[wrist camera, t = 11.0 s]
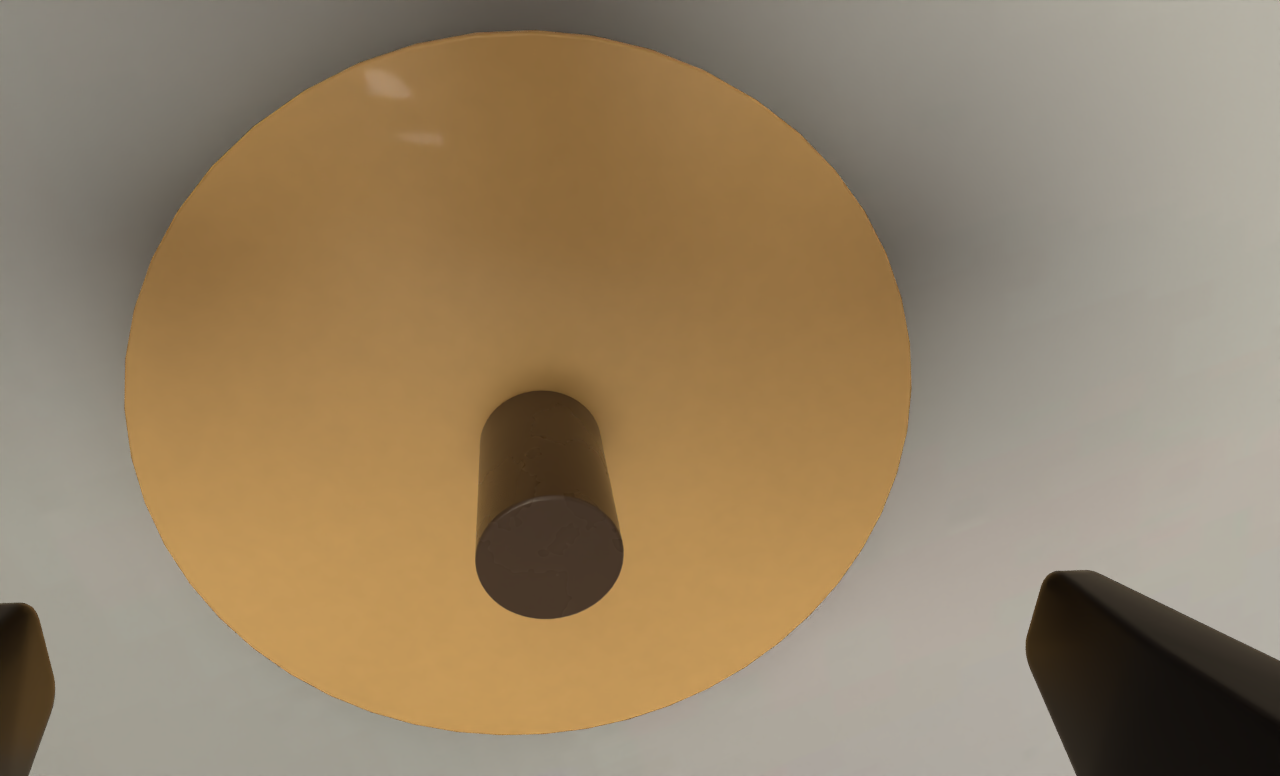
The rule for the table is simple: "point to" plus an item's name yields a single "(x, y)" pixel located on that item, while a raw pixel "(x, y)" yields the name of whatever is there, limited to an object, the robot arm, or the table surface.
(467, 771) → the table surface
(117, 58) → the table surface
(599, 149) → the lid
